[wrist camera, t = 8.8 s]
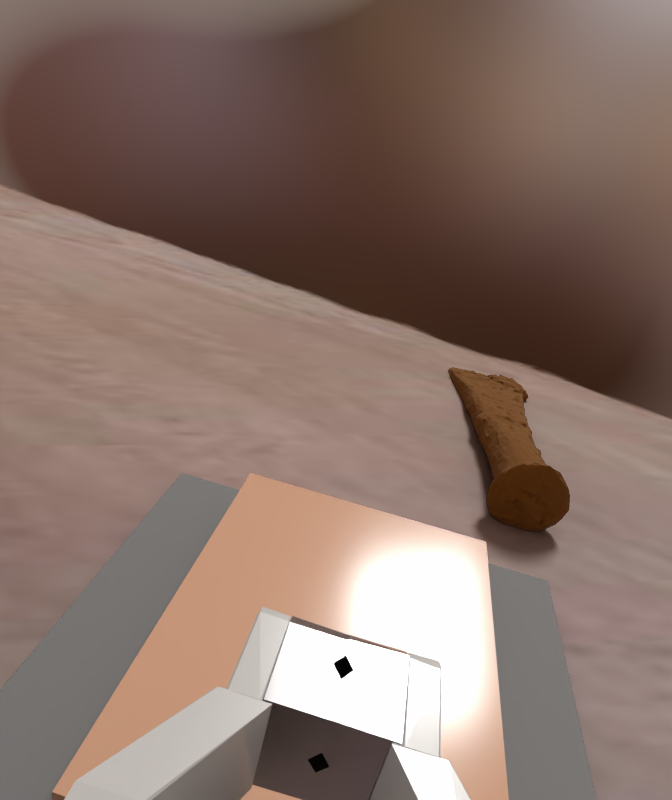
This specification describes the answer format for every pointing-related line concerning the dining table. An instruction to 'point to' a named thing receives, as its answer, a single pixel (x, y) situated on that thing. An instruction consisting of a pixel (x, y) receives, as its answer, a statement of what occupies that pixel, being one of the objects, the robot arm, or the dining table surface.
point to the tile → (321, 619)
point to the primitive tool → (511, 453)
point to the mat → (153, 591)
